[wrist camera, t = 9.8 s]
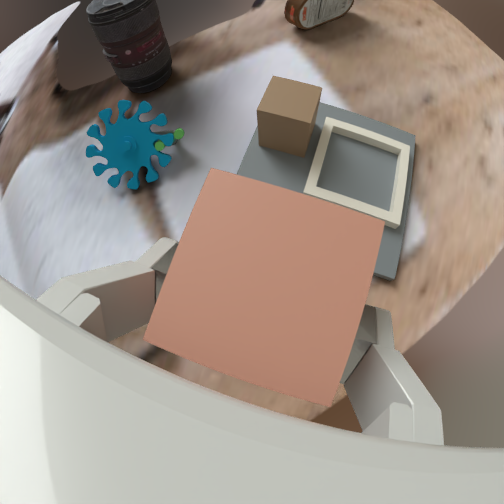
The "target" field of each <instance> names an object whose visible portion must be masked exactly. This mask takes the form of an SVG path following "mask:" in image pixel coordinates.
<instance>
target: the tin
mask: <svg viewBox="0 0 504 504" xmlns="http://www.w3.org/2000/svg"><path fill="white" fill-rule="evenodd" d="M353 2H354V0H287V3H286V6H285V11H284V13H285V18H286V20H287V21H288V22H289V23H291V24H294V25H295V26H297V27H299V28H301V29H311V28H314V27H316V26H319V25H321V24H324V23H327V22H329V21H332V20H334V19H337V18H340V17H342V16H343V15H344V14H346V13H347V12H348V11H349V10H350V8H351V7H352V5H353Z"/></svg>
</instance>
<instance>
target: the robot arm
mask: <svg viewBox="0 0 504 504" xmlns="http://www.w3.org/2000/svg"><path fill="white" fill-rule="evenodd" d="M178 244H179V242H177V241H174V240H171V239H169V238H166V237H164V238H161V239H160V240H158V241H157V242H156V243H155V244H154V245H153V246H152V247H151V248H150V249H149V250H147V251H146V252H145V253H144V254H143V255H142V256H141V257H140V258H139V259H138V260H137V261H135V262H133V261H127V262H123V263H119V264H115V265H111V266H107V267H103V268H99V269H95V270H91V271H87V272H83V273H79V274H75V275H71V276H67V277H63V278H61V279H60V280H58V281H57V282H56V283H55V284H54V285H53V286H51V287H50V288H49V289H48V290H47V291H46V292H44V293H43V294H42V295H41V296H40V297H39V298H38V299H37V300H35V299H34V298H32V297H30V296H29V295H28V294H26V293H25V292H23V291H22V290H20V289H19V288H17V287H16V286H14V285H13V284H12V283H10V282H9V281H7V280H6V279H5V278H3V277H2V276H1V275H0V504H504V448H478V447H476V448H475V447H458V446H446V445H444V442H443V428H442V417H441V410H440V408H439V407H438V405H437V404H436V403H435V401H434V399H433V398H432V396H431V395H430V394H429V392H428V391H427V389H426V388H425V387H424V385H423V384H422V382H421V381H420V380H419V378H418V377H417V375H416V374H415V372H414V371H413V370H412V368H411V367H410V365H409V364H408V363H407V361H406V360H405V359H404V357H403V356H402V354H401V353H400V352H399V351H397V350H395V348H394V337H393V327H392V318H391V312H390V311H389V310H385V309H381V308H378V307H373V306H369V305H366V304H365V306H364V310H363V313H362V317H361V320H360V323H359V326H358V330H357V333H356V336H355V339H354V342H353V345H352V349H351V352H350V355H349V357H348V360H347V363H346V366H345V369H344V372H343V375H342V377H341V380H340V383H342V384H344V387H345V390H346V392H347V394H348V397H349V399H350V401H351V404H352V406H353V409H354V411H355V413H356V416H357V418H358V421H359V423H360V426H361V428H362V430H363V432H362V433H357V432H352V431H348V430H343V429H339V428H334V427H330V426H326V425H322V424H318V423H314V422H310V421H307V420H303V419H299V418H296V417H292V416H289V415H285V414H282V413H278V412H275V411H272V410H269V409H265V408H262V407H259V406H256V405H253V404H250V403H247V402H244V401H241V400H238V399H236V398H233V397H230V396H227V395H225V394H222V393H219V392H216V391H214V390H211V389H209V388H206V387H204V386H201V385H198V384H196V383H194V382H191V381H189V380H186V379H184V378H181V377H179V376H177V375H174V374H172V373H170V372H168V371H165V370H163V369H161V368H159V367H157V366H154V365H152V364H150V363H148V362H146V361H144V360H142V359H139V358H137V357H135V356H133V355H131V354H129V353H127V352H125V351H123V350H121V349H119V348H117V347H115V346H114V345H112V344H110V343H108V342H109V341H112V340H114V339H116V338H118V337H120V336H122V335H124V334H126V333H129V332H131V331H133V330H135V329H137V328H139V327H141V326H143V325H146V324H148V323H149V321H150V318H151V315H152V312H153V310H154V307H155V304H156V301H157V299H158V296H159V293H160V290H161V288H162V285H163V282H164V280H165V277H166V275H167V272H168V269H169V267H170V264H171V262H172V259H173V256H174V254H175V251H176V249H177V246H178Z"/></svg>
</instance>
